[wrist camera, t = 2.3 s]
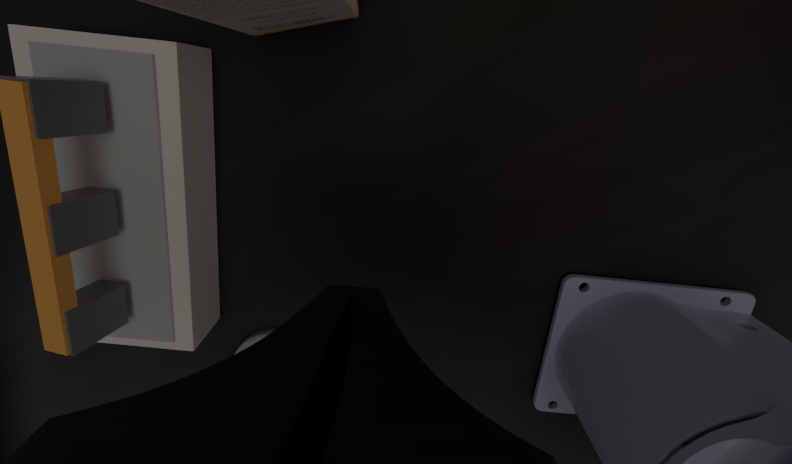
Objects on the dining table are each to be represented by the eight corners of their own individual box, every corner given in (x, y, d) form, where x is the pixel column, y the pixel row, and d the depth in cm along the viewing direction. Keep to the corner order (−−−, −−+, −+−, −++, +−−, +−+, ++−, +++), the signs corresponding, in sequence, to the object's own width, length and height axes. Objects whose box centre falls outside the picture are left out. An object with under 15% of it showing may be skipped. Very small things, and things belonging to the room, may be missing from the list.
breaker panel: (211, 49, 18) (173, 41, 15) (220, 317, 23) (191, 353, 20) (68, 33, 18) (2, 23, 15) (103, 306, 22) (57, 341, 19)
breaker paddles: (102, 81, 15) (24, 78, 13) (128, 322, 19) (69, 358, 16) (74, 78, 16) (-9, 74, 13) (104, 316, 19) (42, 351, 16)
